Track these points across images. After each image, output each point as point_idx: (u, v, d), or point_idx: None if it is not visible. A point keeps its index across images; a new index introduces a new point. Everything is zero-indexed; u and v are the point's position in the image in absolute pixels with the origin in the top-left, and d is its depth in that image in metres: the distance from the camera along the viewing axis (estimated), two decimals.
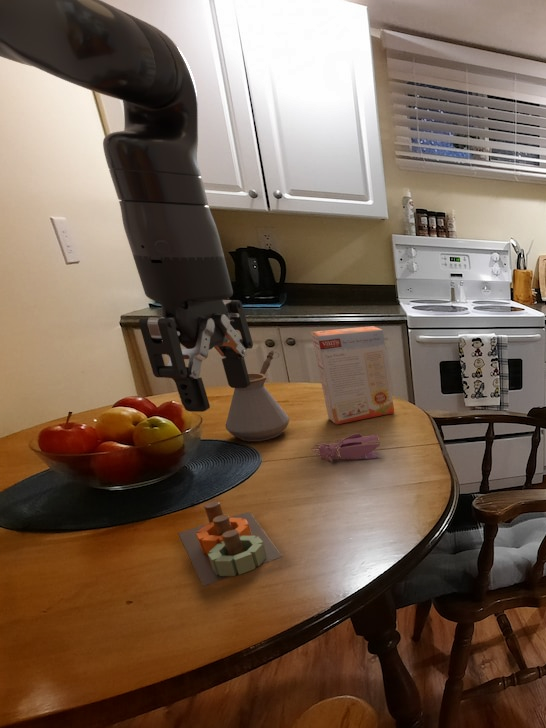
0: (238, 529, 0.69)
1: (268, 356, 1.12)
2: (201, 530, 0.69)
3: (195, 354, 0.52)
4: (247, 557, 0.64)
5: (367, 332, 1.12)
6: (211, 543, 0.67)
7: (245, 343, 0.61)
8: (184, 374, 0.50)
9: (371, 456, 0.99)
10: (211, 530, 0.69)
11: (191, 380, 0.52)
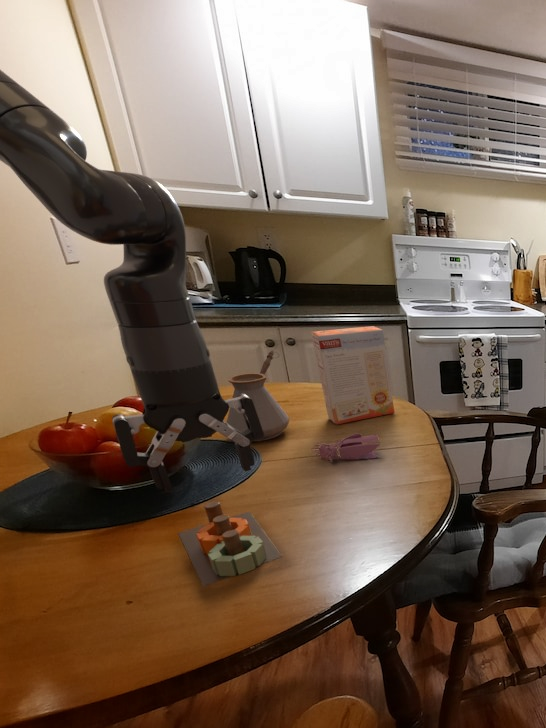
0: (238, 529, 0.69)
1: (268, 356, 1.12)
2: (201, 530, 0.69)
3: (156, 447, 0.60)
4: (247, 557, 0.64)
5: (367, 332, 1.12)
6: (211, 543, 0.67)
7: (252, 434, 0.67)
8: (133, 464, 0.58)
9: (371, 456, 0.99)
10: (211, 530, 0.69)
11: (153, 467, 0.60)
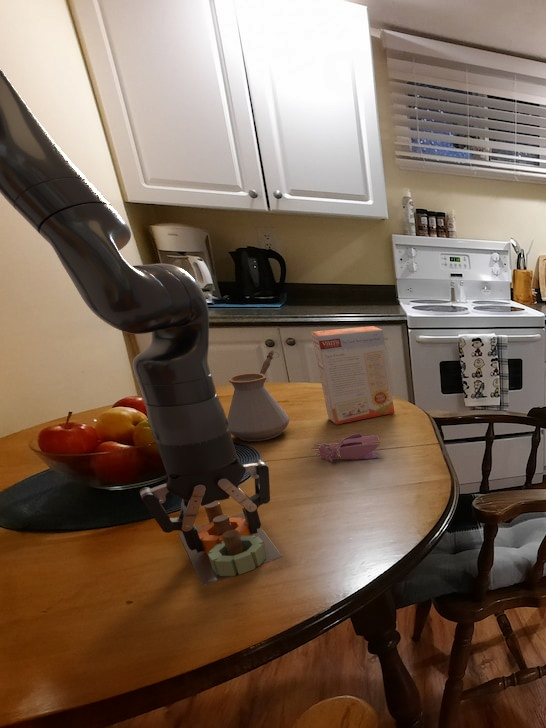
0: (238, 529, 0.69)
1: (268, 356, 1.12)
2: (201, 530, 0.69)
3: (185, 514, 0.64)
4: (247, 557, 0.64)
5: (367, 332, 1.12)
6: (211, 543, 0.67)
7: (259, 499, 0.70)
8: (169, 530, 0.63)
9: (371, 456, 0.99)
10: (211, 530, 0.69)
11: (186, 531, 0.65)
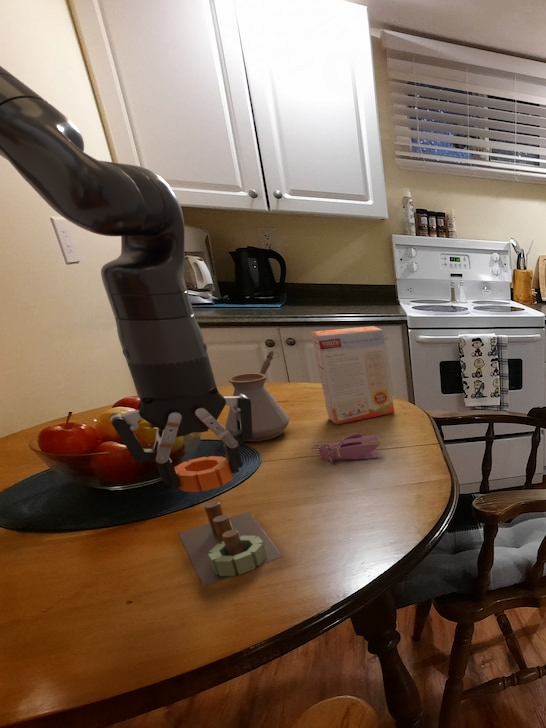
0: (218, 466, 0.65)
1: (268, 356, 1.12)
2: (178, 466, 0.64)
3: (160, 444, 0.60)
4: (247, 557, 0.64)
5: (367, 332, 1.12)
6: (188, 478, 0.63)
7: (241, 435, 0.66)
8: (141, 460, 0.59)
9: (371, 456, 0.99)
10: (189, 467, 0.65)
11: (161, 463, 0.61)
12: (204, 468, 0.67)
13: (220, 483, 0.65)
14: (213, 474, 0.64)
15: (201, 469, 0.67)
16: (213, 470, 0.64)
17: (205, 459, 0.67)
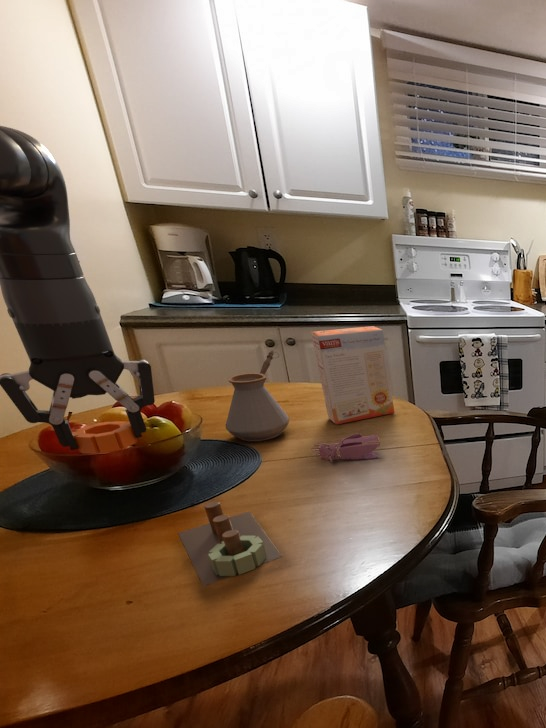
0: (118, 429, 0.66)
1: (268, 356, 1.12)
2: (78, 429, 0.66)
3: (53, 405, 0.61)
4: (247, 557, 0.64)
5: (367, 332, 1.12)
6: (86, 440, 0.64)
7: (142, 400, 0.67)
8: (33, 420, 0.60)
9: (371, 456, 0.99)
10: (91, 431, 0.67)
11: (56, 424, 0.62)
12: None
13: (121, 446, 0.66)
14: (112, 436, 0.65)
15: None
16: (112, 433, 0.65)
17: (108, 423, 0.68)
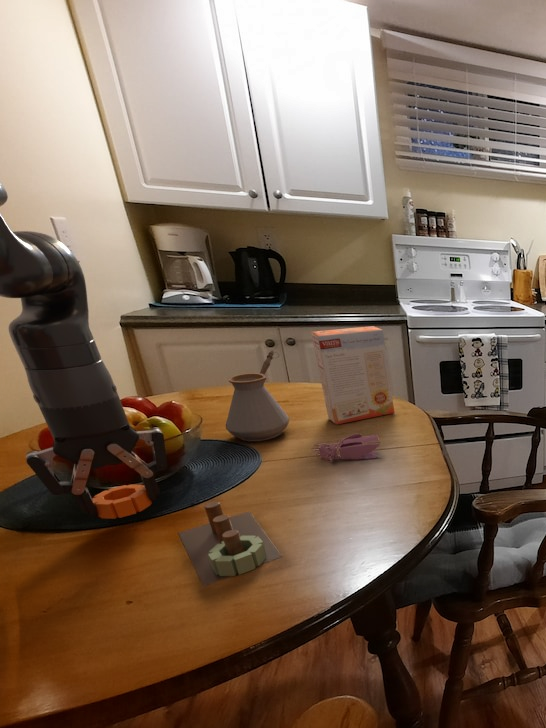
0: (134, 494, 0.71)
1: (268, 356, 1.12)
2: (97, 495, 0.71)
3: (75, 477, 0.66)
4: (247, 557, 0.64)
5: (367, 332, 1.12)
6: (105, 507, 0.69)
7: (156, 466, 0.72)
8: (57, 492, 0.65)
9: (371, 456, 0.99)
10: (109, 495, 0.72)
11: (77, 494, 0.67)
12: (124, 496, 0.73)
13: (137, 510, 0.72)
14: (129, 502, 0.70)
15: (121, 497, 0.73)
16: (129, 498, 0.70)
17: (124, 487, 0.73)
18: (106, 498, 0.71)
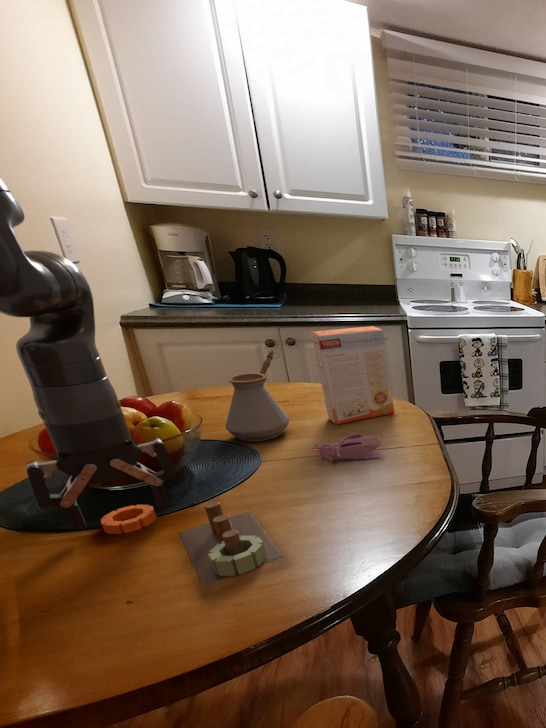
0: (142, 515, 0.73)
1: (268, 356, 1.12)
2: (106, 516, 0.72)
3: (68, 490, 0.66)
4: (247, 557, 0.64)
5: (367, 332, 1.12)
6: (113, 528, 0.70)
7: (165, 474, 0.73)
8: (46, 505, 0.65)
9: (371, 456, 0.99)
10: (117, 516, 0.73)
11: (66, 507, 0.67)
12: (132, 516, 0.75)
13: None
14: (137, 522, 0.72)
15: (129, 517, 0.74)
16: (137, 519, 0.72)
17: (132, 508, 0.75)
18: (114, 518, 0.73)
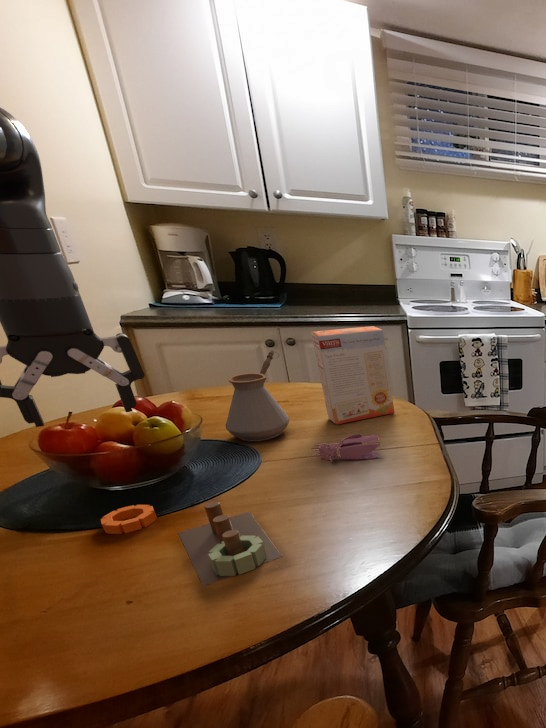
0: (142, 515, 0.73)
1: (268, 356, 1.12)
2: (106, 516, 0.72)
3: (21, 379, 0.60)
4: (247, 557, 0.64)
5: (367, 332, 1.12)
6: (113, 528, 0.70)
7: (132, 374, 0.67)
8: None
9: (371, 456, 0.99)
10: (117, 516, 0.73)
11: (20, 400, 0.61)
12: (132, 516, 0.75)
13: None
14: (137, 522, 0.72)
15: (129, 517, 0.74)
16: (137, 519, 0.72)
17: (132, 508, 0.75)
18: (114, 518, 0.73)
